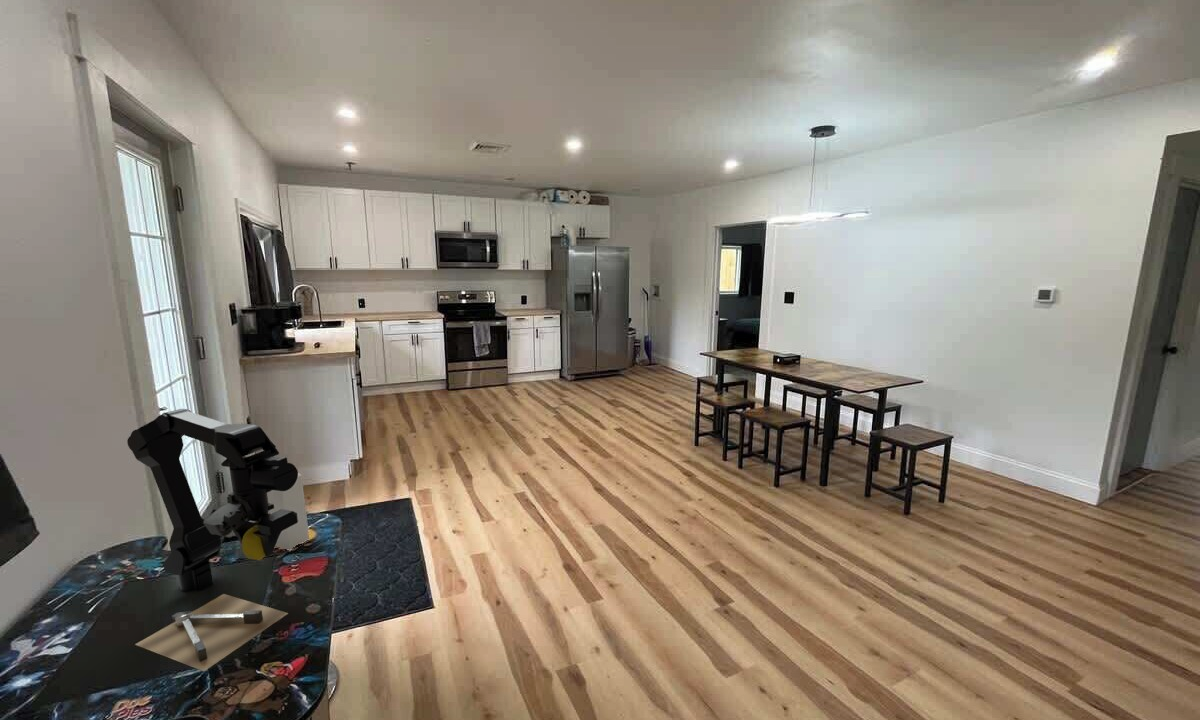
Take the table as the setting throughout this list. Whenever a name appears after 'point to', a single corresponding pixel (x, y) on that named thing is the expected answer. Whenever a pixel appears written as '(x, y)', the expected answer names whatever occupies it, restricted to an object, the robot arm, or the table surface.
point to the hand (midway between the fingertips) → (259, 553)
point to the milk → (292, 502)
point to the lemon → (252, 545)
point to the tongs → (188, 620)
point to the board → (211, 633)
